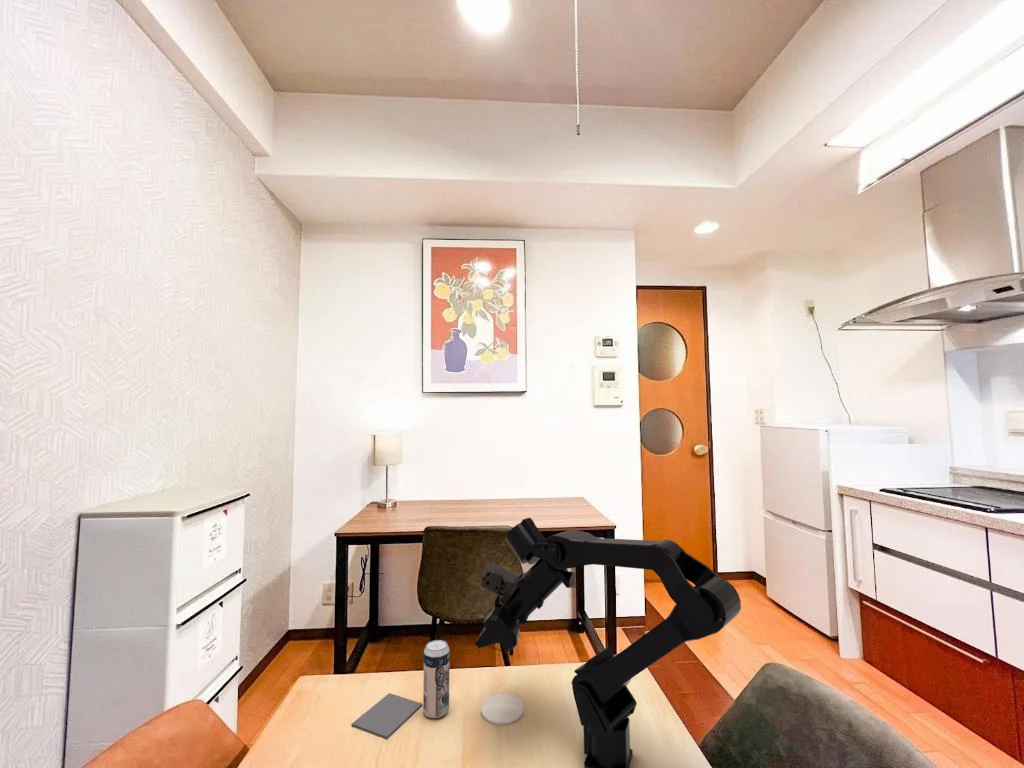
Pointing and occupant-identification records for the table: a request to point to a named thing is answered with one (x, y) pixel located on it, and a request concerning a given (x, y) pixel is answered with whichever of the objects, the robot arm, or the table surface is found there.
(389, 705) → the mat
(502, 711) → the coaster
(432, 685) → the beer can
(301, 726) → the table surface
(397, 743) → the table surface
